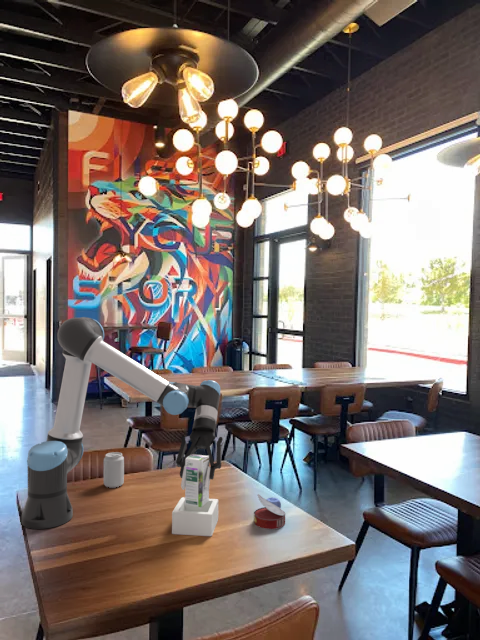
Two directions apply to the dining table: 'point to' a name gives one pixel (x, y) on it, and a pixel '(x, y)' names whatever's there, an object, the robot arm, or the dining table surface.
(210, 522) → the socket
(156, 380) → the robot arm
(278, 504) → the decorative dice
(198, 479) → the syrup box
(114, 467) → the can
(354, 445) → the dining table surface
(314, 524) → the dining table surface
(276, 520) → the canned food
